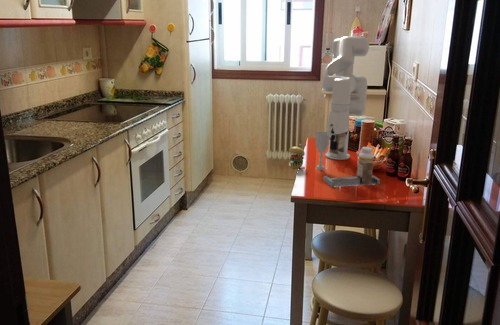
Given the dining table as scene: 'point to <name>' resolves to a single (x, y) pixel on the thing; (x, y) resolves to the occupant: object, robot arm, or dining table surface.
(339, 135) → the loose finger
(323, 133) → the chalice
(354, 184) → the rail
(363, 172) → the mounted finger
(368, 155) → the supplement bottle
